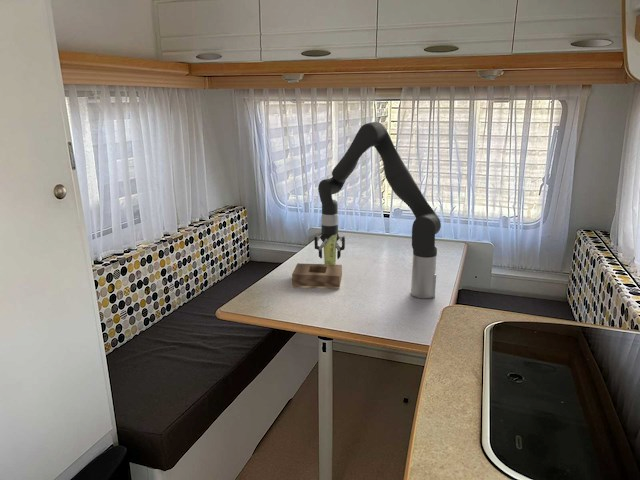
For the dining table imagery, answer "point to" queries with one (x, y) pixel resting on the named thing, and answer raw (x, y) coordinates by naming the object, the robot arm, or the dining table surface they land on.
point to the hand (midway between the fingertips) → (329, 258)
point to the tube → (330, 251)
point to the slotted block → (317, 276)
